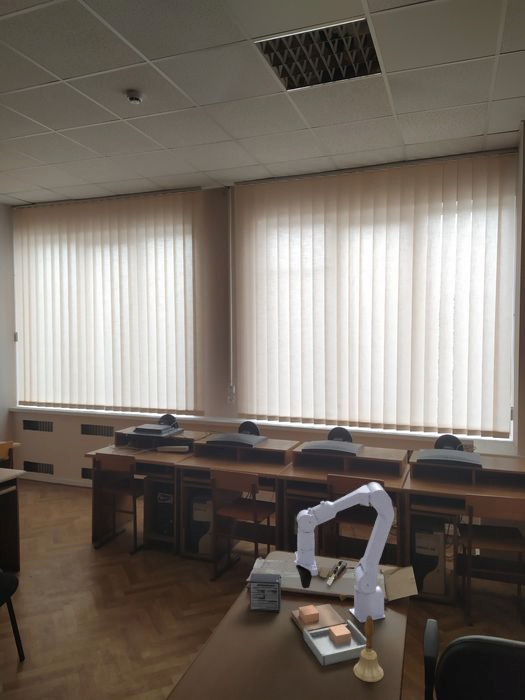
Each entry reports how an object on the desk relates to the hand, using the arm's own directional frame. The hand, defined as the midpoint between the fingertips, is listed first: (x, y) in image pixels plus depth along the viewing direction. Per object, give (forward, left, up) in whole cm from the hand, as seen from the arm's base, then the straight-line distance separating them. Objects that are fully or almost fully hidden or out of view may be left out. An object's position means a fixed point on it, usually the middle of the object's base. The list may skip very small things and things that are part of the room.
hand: (305, 587), depth 171 cm
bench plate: (-2, +6, -10) cm, 11 cm away
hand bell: (-5, +33, -10) cm, 34 cm away
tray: (-2, +19, -10) cm, 21 cm away
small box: (+11, -9, -10) cm, 18 cm away
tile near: (-5, +16, -9) cm, 19 cm away
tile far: (+1, +5, -8) cm, 9 cm away
